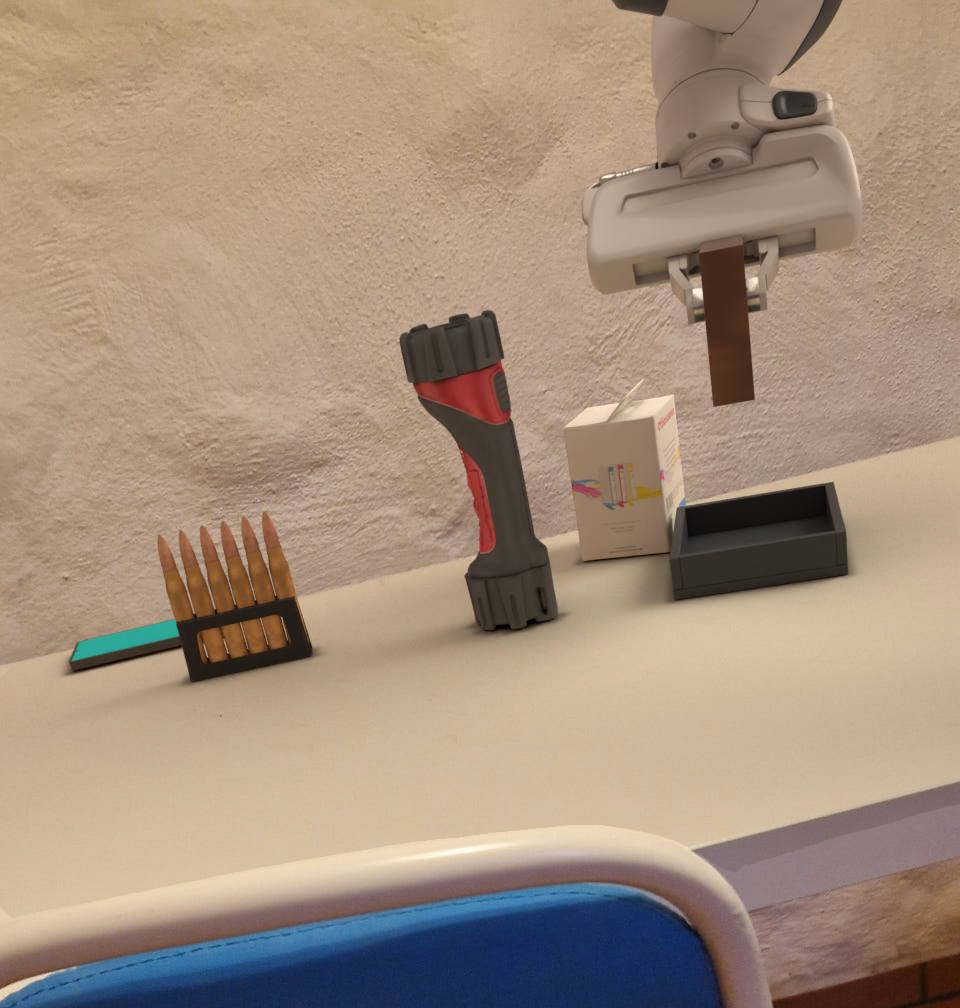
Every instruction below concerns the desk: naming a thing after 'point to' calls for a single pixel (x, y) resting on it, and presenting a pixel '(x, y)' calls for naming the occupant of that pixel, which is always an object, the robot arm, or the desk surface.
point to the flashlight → (484, 464)
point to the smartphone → (125, 644)
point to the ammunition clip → (227, 611)
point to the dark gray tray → (758, 541)
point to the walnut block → (727, 320)
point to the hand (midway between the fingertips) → (727, 312)
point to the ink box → (625, 476)
